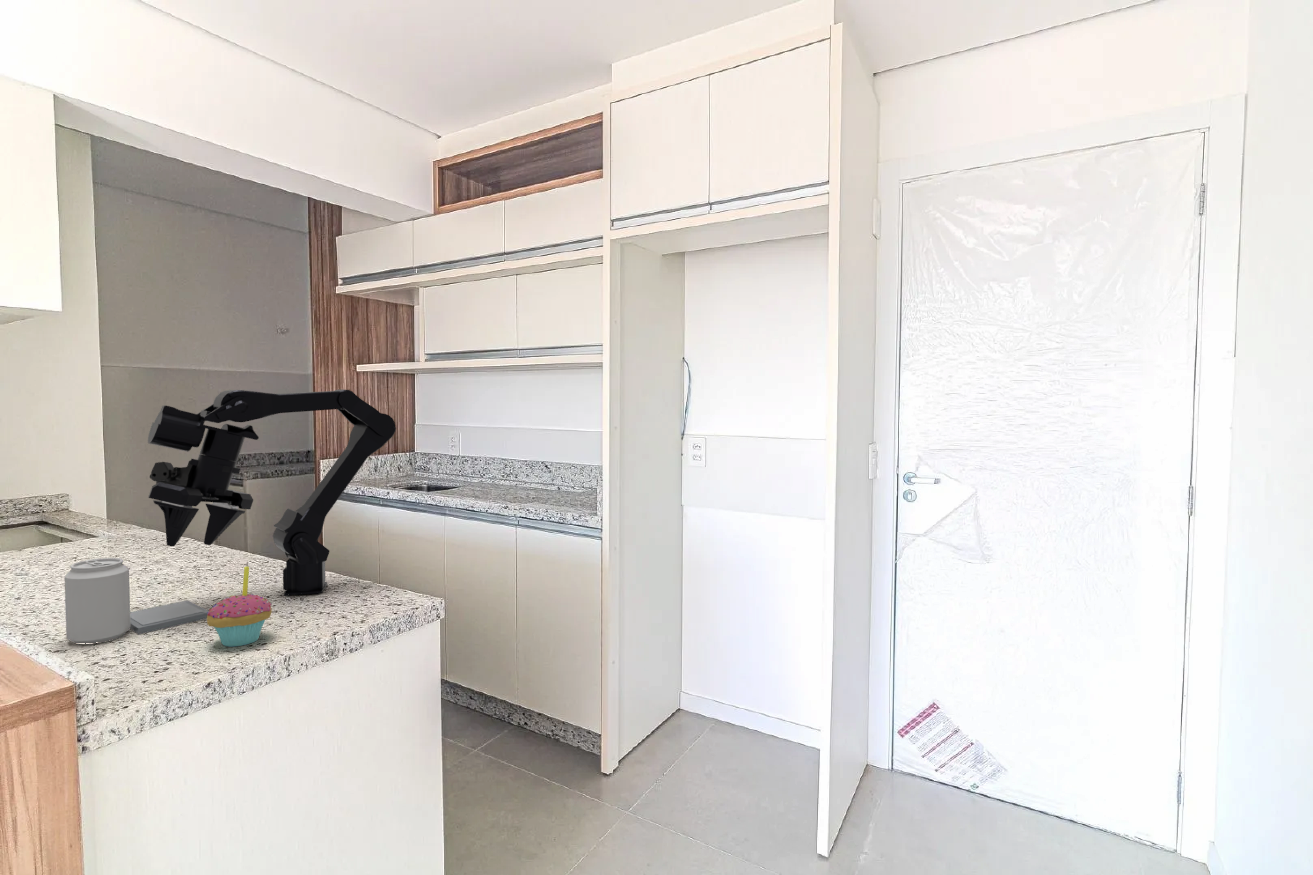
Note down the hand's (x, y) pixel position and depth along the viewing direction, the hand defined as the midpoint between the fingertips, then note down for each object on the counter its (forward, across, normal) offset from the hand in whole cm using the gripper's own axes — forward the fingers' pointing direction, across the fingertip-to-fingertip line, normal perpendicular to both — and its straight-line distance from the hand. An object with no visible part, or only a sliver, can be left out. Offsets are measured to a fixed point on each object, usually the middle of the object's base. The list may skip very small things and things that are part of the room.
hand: (189, 545), depth 111 cm
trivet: (+12, +1, +1) cm, 12 cm away
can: (+15, +10, -2) cm, 18 cm away
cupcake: (+11, +10, +19) cm, 24 cm away
